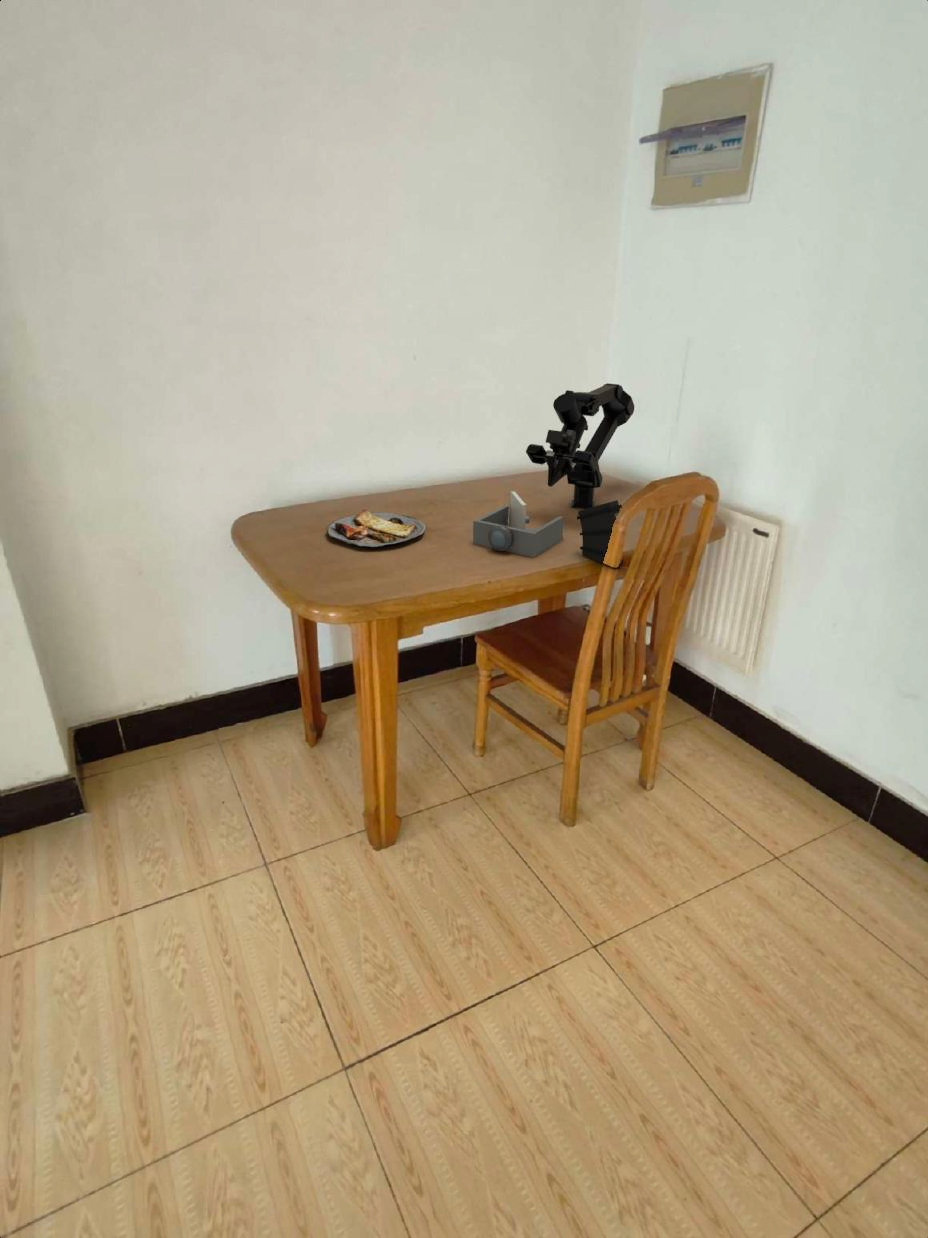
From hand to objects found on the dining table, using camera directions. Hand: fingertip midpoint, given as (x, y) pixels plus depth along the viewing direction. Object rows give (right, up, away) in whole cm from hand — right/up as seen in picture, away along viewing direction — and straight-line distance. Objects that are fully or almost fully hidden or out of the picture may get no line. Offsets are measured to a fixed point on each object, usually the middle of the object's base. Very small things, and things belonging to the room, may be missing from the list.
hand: (549, 485), depth 188 cm
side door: (-8, -12, -3) cm, 15 cm away
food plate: (-45, -13, 0) cm, 47 cm away
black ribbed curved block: (+10, -21, -16) cm, 28 cm away
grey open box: (-9, -15, -6) cm, 19 cm away
